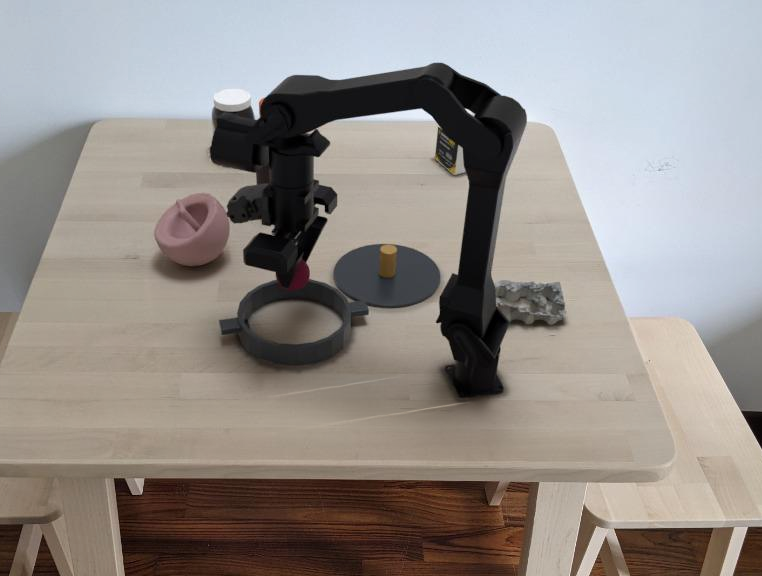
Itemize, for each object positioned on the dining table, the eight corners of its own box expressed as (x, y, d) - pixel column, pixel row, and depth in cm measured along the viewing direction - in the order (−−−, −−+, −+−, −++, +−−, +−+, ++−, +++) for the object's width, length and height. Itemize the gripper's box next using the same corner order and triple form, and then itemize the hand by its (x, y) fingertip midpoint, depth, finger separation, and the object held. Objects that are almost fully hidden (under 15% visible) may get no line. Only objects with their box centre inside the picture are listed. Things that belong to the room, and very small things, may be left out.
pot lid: (454, 303, 140) (458, 272, 136) (348, 317, 137) (349, 287, 133) (421, 243, 152) (423, 214, 148) (322, 256, 149) (323, 226, 145)
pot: (381, 356, 130) (382, 335, 128) (230, 378, 127) (228, 357, 124) (352, 290, 142) (353, 269, 139) (213, 308, 139) (211, 287, 136)
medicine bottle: (434, 159, 173) (440, 99, 165) (465, 151, 176) (473, 92, 168) (453, 176, 169) (461, 115, 161) (486, 168, 171) (495, 107, 163)
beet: (313, 295, 128) (313, 266, 124) (279, 299, 127) (278, 271, 124) (305, 275, 131) (305, 247, 128) (273, 279, 130) (272, 251, 127)
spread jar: (210, 145, 178) (205, 88, 170) (266, 137, 180) (264, 80, 172) (224, 174, 169) (220, 115, 161) (283, 165, 172) (281, 107, 164)
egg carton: (490, 326, 135) (494, 304, 133) (488, 296, 141) (491, 274, 138) (563, 330, 134) (569, 308, 132) (558, 300, 140) (563, 278, 137)
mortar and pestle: (150, 247, 151) (142, 186, 143) (219, 233, 154) (215, 173, 147) (168, 287, 143) (160, 224, 135) (241, 271, 146) (237, 209, 138)
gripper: (264, 135, 126) (268, 231, 136) (202, 200, 113) (211, 301, 124) (339, 150, 123) (337, 247, 133) (284, 218, 110) (286, 320, 120)
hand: (292, 277), depth 128 cm, fingers closed on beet, 5 cm apart
